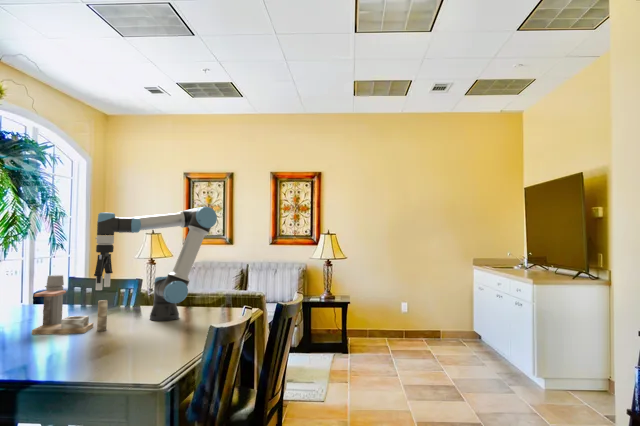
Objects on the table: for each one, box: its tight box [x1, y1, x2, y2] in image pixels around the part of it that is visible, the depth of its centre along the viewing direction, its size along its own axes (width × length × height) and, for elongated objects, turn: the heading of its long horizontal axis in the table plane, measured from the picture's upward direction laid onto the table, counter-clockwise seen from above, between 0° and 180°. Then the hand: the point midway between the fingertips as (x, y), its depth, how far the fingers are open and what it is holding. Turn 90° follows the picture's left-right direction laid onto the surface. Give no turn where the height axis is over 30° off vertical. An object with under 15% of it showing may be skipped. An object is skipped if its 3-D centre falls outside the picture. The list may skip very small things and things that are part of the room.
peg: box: [96, 299, 108, 332], centre depth 206 cm, size 4×4×14 cm
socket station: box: [31, 289, 94, 336], centre depth 204 cm, size 22×13×18 cm, turn 102°
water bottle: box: [42, 274, 65, 324], centre depth 213 cm, size 9×8×25 cm
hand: (103, 288), depth 206 cm, fingers open, 13 cm apart
